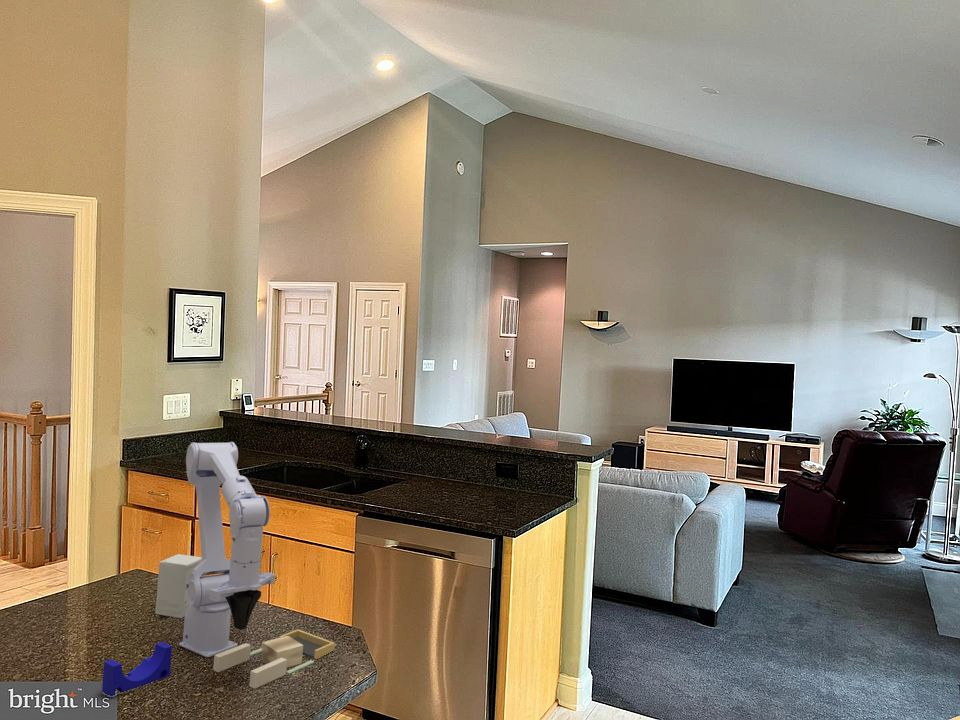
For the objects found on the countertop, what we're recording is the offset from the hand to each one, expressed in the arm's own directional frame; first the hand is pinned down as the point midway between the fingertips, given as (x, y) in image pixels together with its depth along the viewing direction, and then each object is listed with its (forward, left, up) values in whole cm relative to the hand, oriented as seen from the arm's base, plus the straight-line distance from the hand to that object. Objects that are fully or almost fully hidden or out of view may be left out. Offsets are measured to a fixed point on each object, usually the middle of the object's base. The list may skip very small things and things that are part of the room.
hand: (240, 627), depth 142 cm
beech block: (+1, +11, -10) cm, 15 cm away
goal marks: (0, +11, -10) cm, 15 cm away
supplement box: (-37, +14, -10) cm, 41 cm away
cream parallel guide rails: (0, +3, -10) cm, 10 cm away
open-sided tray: (0, +19, -10) cm, 21 cm away
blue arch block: (-12, -14, -10) cm, 21 cm away
